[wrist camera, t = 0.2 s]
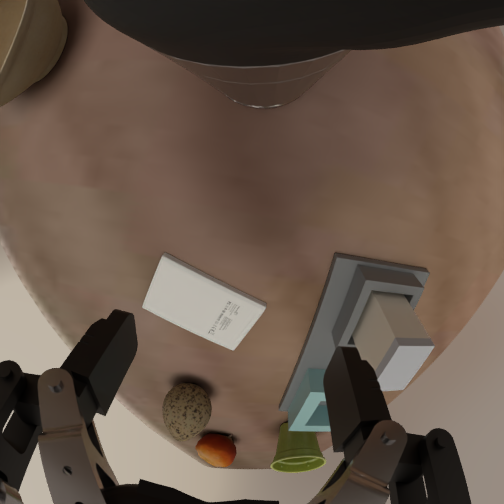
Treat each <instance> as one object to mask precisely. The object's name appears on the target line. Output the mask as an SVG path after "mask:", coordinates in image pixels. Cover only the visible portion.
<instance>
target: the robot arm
mask: <svg viewBox="0 0 504 504" xmlns="http://www.w3.org/2000/svg"><path fill="white" fill-rule="evenodd" d="M84 1H85V3H86V4H87V5H88V6H89V7H90V9H91V10H92V11H93V12H94V13H95V14H96V15H97V16H98V17H100V18H101V19H102V20H103V21H104V22H106V23H107V24H109V25H111V26H112V27H114V28H115V29H117V30H118V31H120V32H122V33H124V34H126V35H128V36H129V37H131V38H133V39H135V40H137V41H139V42H141V43H143V44H144V45H146V46H148V47H150V48H151V49H153V50H155V51H157V52H158V53H160V54H162V55H164V56H165V57H167V58H169V59H170V60H172V61H174V62H175V63H177V64H179V65H180V66H182V67H184V68H186V69H187V70H189V71H190V72H192V73H193V74H195V75H196V76H198V77H200V78H201V79H203V80H204V81H206V82H207V83H209V84H210V85H212V86H213V87H214V88H216V89H217V90H219V91H220V92H222V93H223V94H225V95H226V96H227V97H228V98H229V99H231V100H233V101H235V102H237V103H240V104H242V105H244V106H248V107H253V108H265V109H267V108H274V107H279V106H282V105H285V104H288V103H290V102H292V101H293V100H295V99H297V98H298V97H299V96H300V95H302V94H303V93H304V92H305V91H306V90H308V89H309V88H310V87H311V86H312V85H313V84H314V83H315V82H316V81H317V80H318V79H320V78H321V77H322V76H323V75H324V74H325V73H326V72H327V71H328V70H330V69H331V68H332V67H333V66H334V65H335V64H336V63H338V62H339V61H340V60H341V59H342V58H343V57H344V56H345V55H346V54H348V53H349V52H350V51H351V50H372V49H386V48H397V47H402V46H408V45H414V44H418V43H423V42H427V41H431V40H435V39H439V38H443V37H447V36H451V35H455V34H459V33H463V32H468V31H472V30H477V29H483V28H488V27H495V26H501V25H504V0H84ZM137 345H138V342H137V335H136V327H135V319H134V315H133V314H132V313H129V312H125V311H121V310H117V309H115V310H113V311H112V313H111V314H110V315H109V317H108V318H107V319H103V318H102V319H100V320H98V321H97V322H95V323H94V324H92V325H91V326H90V328H89V329H88V330H87V332H86V333H85V335H84V336H83V337H82V338H81V340H80V342H78V344H77V345H76V346H75V348H74V349H73V350H72V352H71V353H70V354H69V356H68V357H67V359H66V360H65V361H64V363H63V364H62V366H61V367H60V368H52V369H49V370H47V371H45V372H44V373H43V374H42V375H34V374H28V373H23V372H22V370H21V368H20V366H19V365H18V364H17V363H16V362H14V361H10V360H8V361H3V362H1V363H0V504H23V502H22V499H21V496H20V494H19V493H18V491H19V489H20V486H21V483H22V480H23V477H24V475H25V472H26V469H27V467H28V464H29V462H30V459H31V457H32V455H33V452H34V450H35V448H36V445H37V443H38V444H39V450H40V454H41V459H42V464H43V468H44V472H45V476H46V479H47V483H48V487H49V490H50V494H51V497H52V500H53V503H54V504H279V501H264V500H247V499H244V500H235V501H224V502H205V501H202V500H200V499H197V498H195V497H192V496H190V495H187V494H185V493H183V492H181V491H178V490H176V489H174V488H171V487H167V486H163V485H159V484H155V483H152V482H149V481H145V480H141V479H140V481H139V484H124V485H119V483H118V481H117V479H116V477H115V475H114V473H113V471H112V469H111V467H110V466H109V464H108V462H107V459H106V457H105V454H104V451H103V448H102V446H101V443H100V440H99V437H98V434H97V430H96V427H95V424H94V421H93V418H94V416H95V414H96V413H99V414H102V415H104V416H106V413H107V411H108V409H109V407H110V405H111V403H112V401H113V399H114V397H115V395H116V393H117V391H118V389H119V387H120V385H121V383H122V381H123V379H124V377H125V375H126V373H127V371H128V369H129V367H130V365H131V363H132V361H133V359H134V357H135V355H136V351H137ZM323 387H324V393H325V398H326V404H327V411H328V417H329V423H330V430H331V436H332V443H333V450H334V452H344V457H345V458H344V459H343V460H342V461H341V463H340V464H339V466H338V467H337V468H336V470H335V471H334V473H333V474H332V475H331V477H330V478H329V479H328V481H327V482H326V484H325V485H324V486H323V487H322V489H321V490H320V491H319V493H318V494H317V495H316V496H315V497H314V498H313V499H312V500H311V501H310V502H309V503H308V504H385V503H386V501H387V499H388V497H389V495H390V500H391V504H471V500H470V496H469V492H468V487H467V483H466V480H465V476H464V472H463V469H462V465H461V462H460V458H459V455H458V452H457V449H456V446H455V443H454V440H453V437H452V436H451V435H450V433H449V432H447V431H446V430H444V429H440V428H436V429H433V430H431V431H430V432H429V433H428V434H427V435H426V436H422V435H416V434H409V433H406V431H405V429H404V428H403V427H402V426H401V425H400V424H399V423H397V422H395V421H392V419H391V417H390V414H389V410H388V408H387V404H386V401H385V398H384V396H383V393H382V390H380V388H381V387H380V384H379V381H378V378H377V376H376V373H375V370H374V368H373V367H372V366H371V365H370V364H369V363H368V361H367V360H361V357H360V354H359V351H358V349H357V348H356V347H345V346H338V347H337V348H336V349H335V351H334V354H333V356H332V358H331V360H330V362H329V364H328V367H327V369H326V371H325V374H324V378H323ZM12 410H14V413H13V414H12V416H11V418H10V420H9V422H8V424H7V426H6V428H5V430H4V432H3V434H2V431H3V427H4V425H5V423H6V422H7V420H8V418H9V416H10V414H11V412H12ZM42 432H43V433H42ZM423 475H424V479H425V484H426V489H427V494H428V498H427V497H426V491H425V486H424V481H423ZM388 485H389V488H387V486H388Z"/></svg>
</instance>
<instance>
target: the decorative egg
mask: <svg viewBox="0 0 504 504" xmlns="http://www.w3.org/2000/svg"><path fill="white" fill-rule="evenodd" d="M211 410H212V407H211V401H210V399H209V396H208V395H207V393H206V392H205V391H204V390H203V389H202V388H201V387H199V386H197V385H195V384H191V383H183V384H179V385H177V386H175V387H173V388H172V389H171V390H170V391H169V392H168V394H167V395H166V397H165V399H164V402H163V418H164V422H165V425H166V427H167V429H168V431H169V432H170V434H171V435H172V436H173V437H174V438H175V439H176V440H178V441H186V440H189V439H191V438H193V437H195V436H196V435H198V434H199V433H200V432H201V431H202V430H203V429H204V428H205V427H206V425H207V423H208V422H209V419H210V416H211Z"/></svg>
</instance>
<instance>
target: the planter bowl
mask: <svg viewBox="0 0 504 504" xmlns="http://www.w3.org/2000/svg"><path fill="white" fill-rule="evenodd" d="M67 33H68V27H67V22H66V20H65V18H64V17H63V16H62V12H61V8H60V5H59V3H58V0H0V107H1V106H3V105H4V104H6V103H8V102H10V101H11V100H13V99H14V98H16V97H17V96H18V95H20V94H21V93H22V92H24V91H25V90H26V89H27V88H28V87H30V86H31V85H32V84H33V83H35V82H38V81H39V80H41V79H42V78H43V77H45V76H46V75H47V74H48V73H49V72H50V71H51V69H52V68H53V67H54V65H55V64H56V62H57V61H58V59H59V57H60V55H61V53H62V51H63V48H64V46H65V43H66V39H67Z"/></svg>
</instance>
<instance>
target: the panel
mask: <svg viewBox="0 0 504 504" xmlns="http://www.w3.org/2000/svg"><path fill="white" fill-rule="evenodd" d="M429 274H430V273H429V272H428V270H427V269H425V268H419V267H414V266H408V265H402V264H397V263H391V262H385V261H380V260H374V259H368V258H362V257H356V256H350V255H345V254H339V253H335V254H334V257H333V261H332V264H331V267H330V270H329V274H328V277H327V280H326V283H325V286H324V289H323V292H322V295H321V298H320V301H319V304H318V307H317V310H316V313H315V316H314V319H313V321H312V324H311V327H310V330H309V332H308V335H307V338H306V341H305V343H304V346H303V348H302V351H301V354H300V356H299V359H298V361H297V364H296V366H295V369H294V371H293V374H292V376H291V379H290V381H289V383H288V386H287V388H286V391H285V393H284V395H283V398H282V400H281V402H280V404H279V411H288V431H331V430H330V423H329V417H328V411H327V404H326V398H325V393H324V387H323V378H324V374H325V371H326V369H327V367H328V364H329V362H330V360H331V358H332V356H333V354H334V351H335V349H336V348H337V347H338V346H345V347H356V346H355V343H354V340H353V336H352V333H353V331H354V329H355V327H356V325H357V323H358V320H359V318H360V316H361V314H362V311H363V309H364V307H365V305H366V302H367V300H368V297H369V295H370V293H371V290H375V291H383V292H391V293H399V294H404V296H405V297H406V299H407V301H408V302H409V304H410V305H411V307H412V308H413V310H414V309H415V307H416V305H417V303H418V301H419V299H420V296H421V294H422V292H423V290H424V285H425V283H426V281H427V278H428V276H429Z"/></svg>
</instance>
